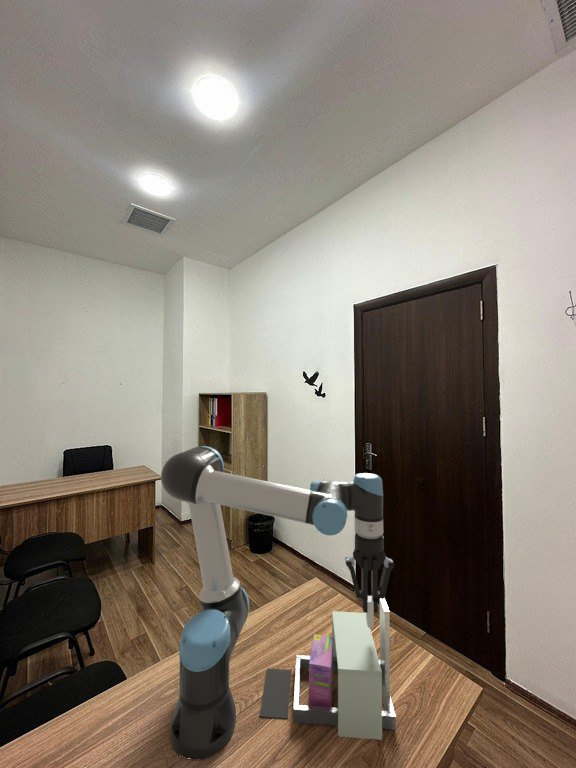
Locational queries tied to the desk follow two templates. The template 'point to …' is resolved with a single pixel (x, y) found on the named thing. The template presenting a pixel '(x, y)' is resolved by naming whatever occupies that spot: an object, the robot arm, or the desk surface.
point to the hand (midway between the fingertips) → (370, 623)
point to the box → (321, 671)
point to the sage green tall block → (357, 677)
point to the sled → (302, 662)
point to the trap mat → (276, 694)
